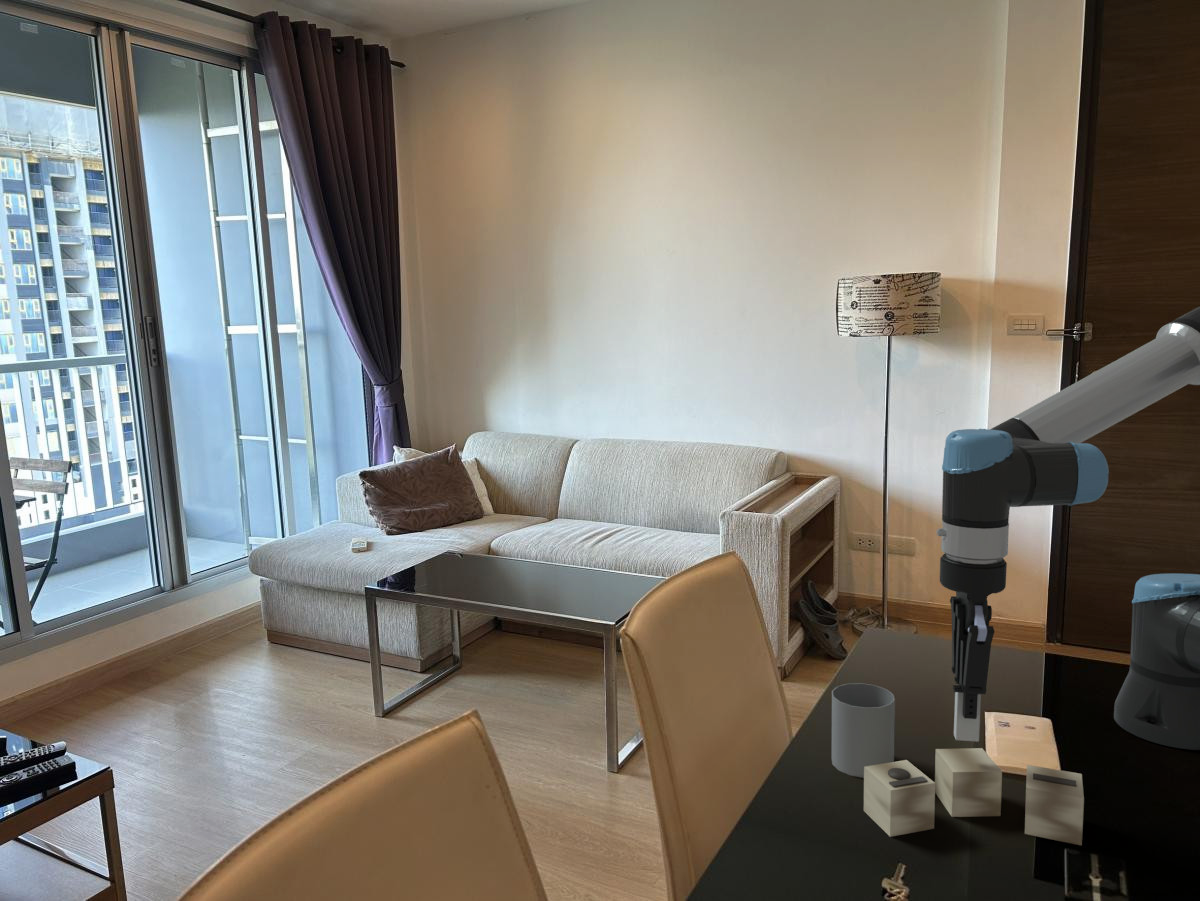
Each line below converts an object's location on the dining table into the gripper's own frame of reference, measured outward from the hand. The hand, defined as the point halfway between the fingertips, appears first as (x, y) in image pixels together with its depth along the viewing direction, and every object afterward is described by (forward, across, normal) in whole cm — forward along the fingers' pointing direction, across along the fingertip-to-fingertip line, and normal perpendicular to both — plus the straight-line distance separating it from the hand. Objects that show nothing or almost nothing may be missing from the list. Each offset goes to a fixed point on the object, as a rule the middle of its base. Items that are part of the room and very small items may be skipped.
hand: (966, 737), depth 111 cm
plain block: (+9, 0, 0) cm, 9 cm away
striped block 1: (+9, +5, -9) cm, 13 cm away
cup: (+9, -9, -12) cm, 17 cm away
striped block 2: (+9, +4, +9) cm, 14 cm away
